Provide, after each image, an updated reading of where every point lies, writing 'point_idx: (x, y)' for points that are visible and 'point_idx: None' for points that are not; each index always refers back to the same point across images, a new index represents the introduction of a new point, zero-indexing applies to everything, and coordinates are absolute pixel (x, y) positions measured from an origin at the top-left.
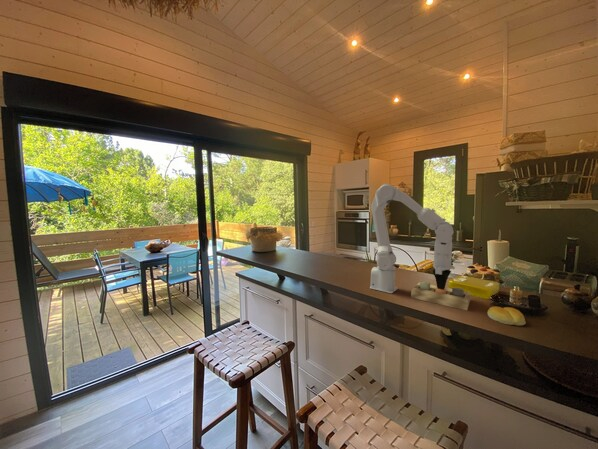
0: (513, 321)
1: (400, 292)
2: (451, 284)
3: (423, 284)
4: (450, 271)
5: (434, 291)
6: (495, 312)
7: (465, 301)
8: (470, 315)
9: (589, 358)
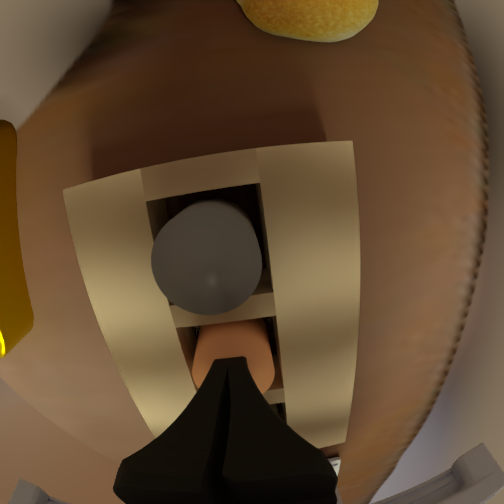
0: None
1: None
2: (13, 335)
3: None
4: (176, 492)
5: None
6: (374, 3)
7: (352, 156)
8: (391, 122)
9: None
